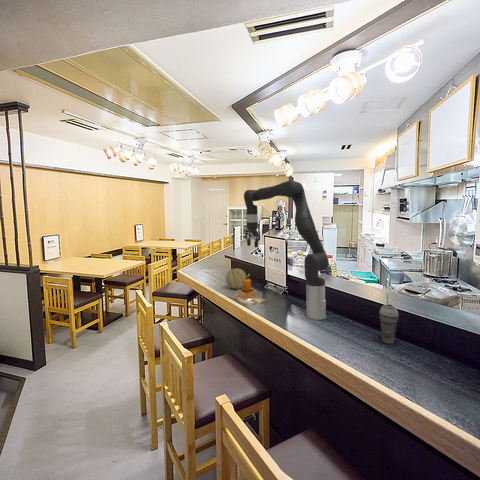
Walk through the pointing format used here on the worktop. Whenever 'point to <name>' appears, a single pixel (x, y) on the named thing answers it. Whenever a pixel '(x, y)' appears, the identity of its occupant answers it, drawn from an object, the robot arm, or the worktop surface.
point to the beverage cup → (388, 322)
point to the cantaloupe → (235, 278)
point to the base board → (247, 303)
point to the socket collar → (247, 295)
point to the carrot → (247, 284)
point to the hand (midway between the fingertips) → (252, 246)
